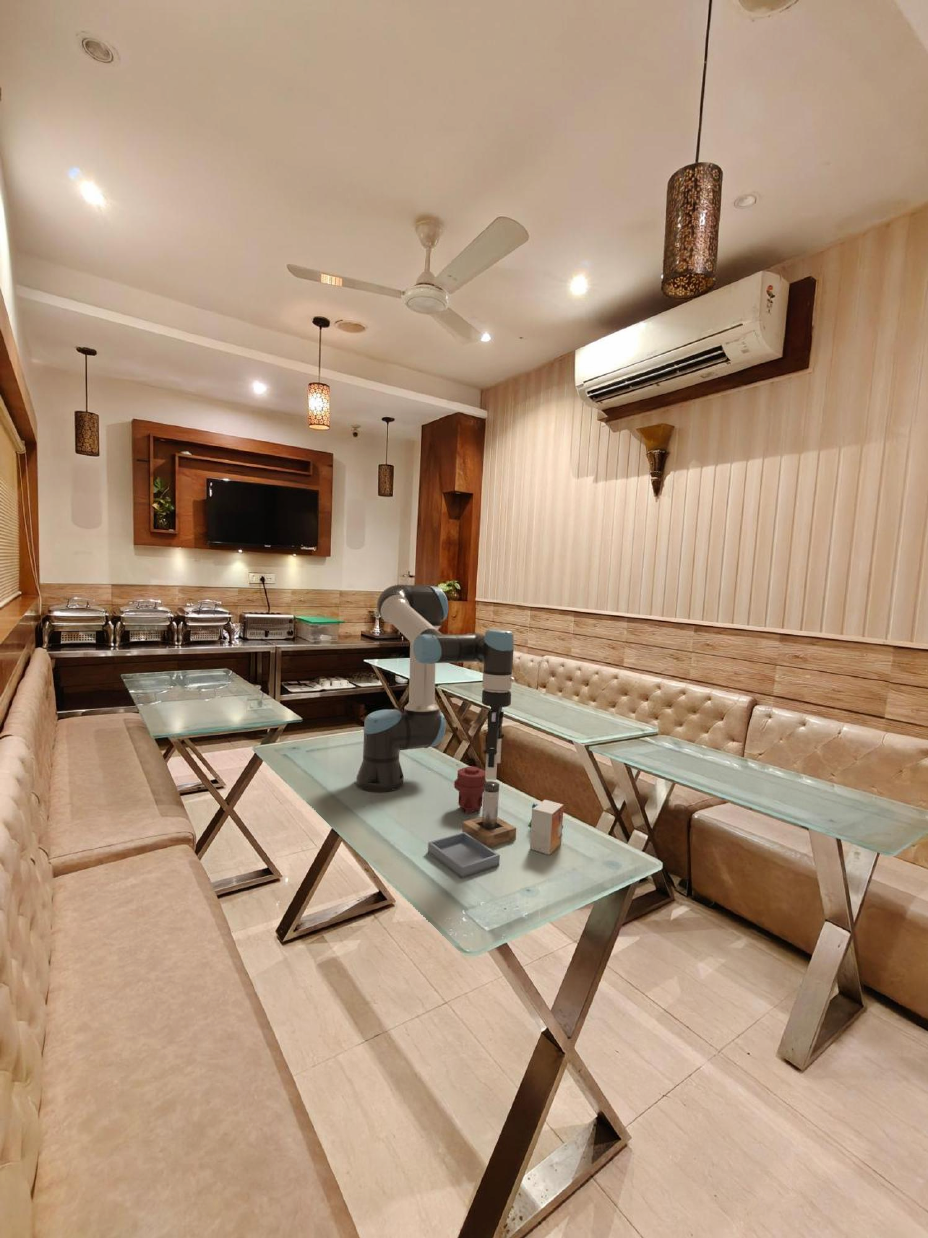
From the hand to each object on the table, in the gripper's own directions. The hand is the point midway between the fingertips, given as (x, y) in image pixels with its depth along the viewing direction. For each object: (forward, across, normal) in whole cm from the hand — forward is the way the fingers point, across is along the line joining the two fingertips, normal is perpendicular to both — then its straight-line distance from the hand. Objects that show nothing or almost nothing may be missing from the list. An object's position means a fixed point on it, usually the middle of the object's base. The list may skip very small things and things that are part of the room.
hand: (493, 770), depth 143 cm
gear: (+18, +8, -14) cm, 24 cm away
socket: (+18, 0, 0) cm, 18 cm away
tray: (+18, -13, +5) cm, 23 cm away
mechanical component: (+18, +16, +7) cm, 25 cm away
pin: (+18, 0, 0) cm, 18 cm away
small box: (+18, -2, -14) cm, 23 cm away
